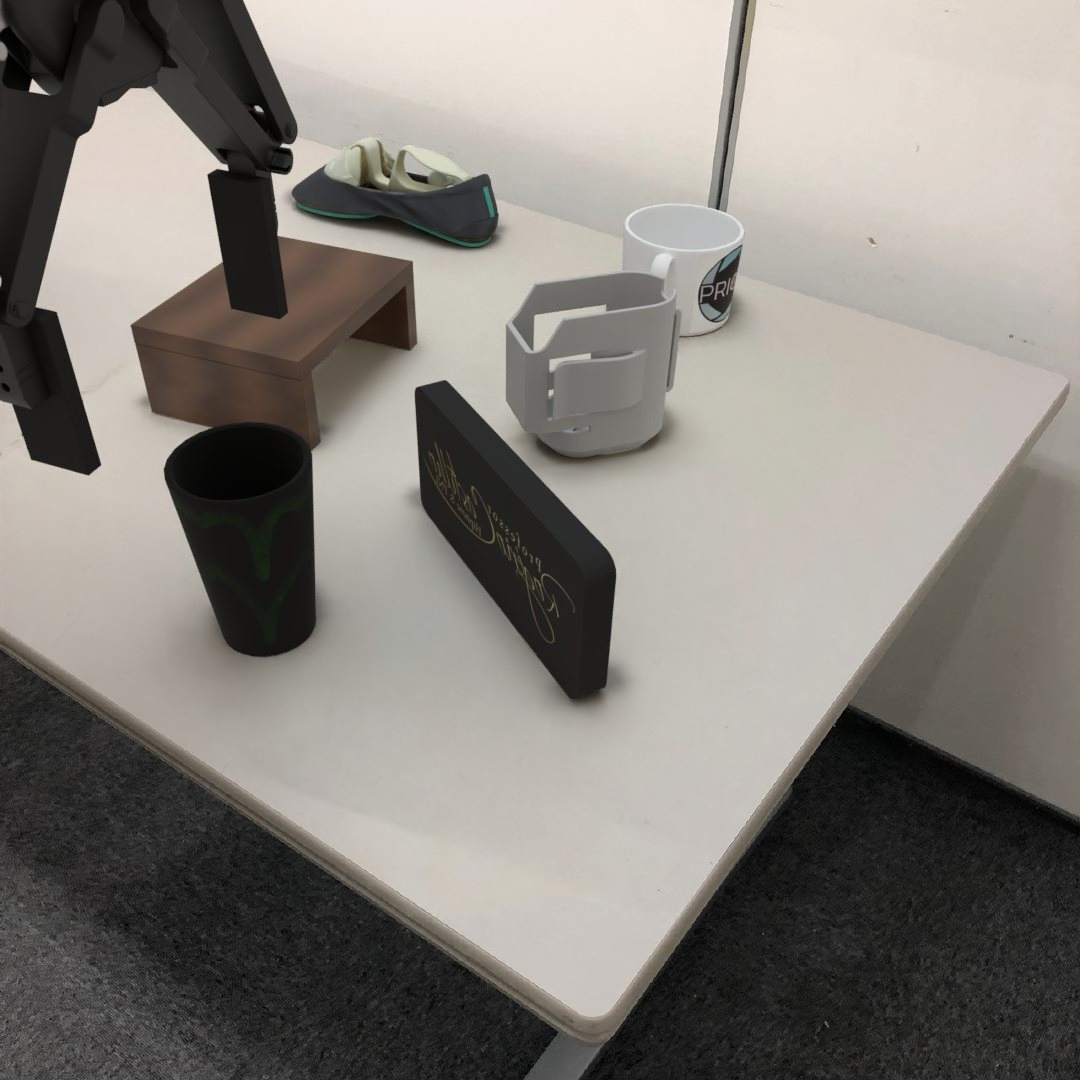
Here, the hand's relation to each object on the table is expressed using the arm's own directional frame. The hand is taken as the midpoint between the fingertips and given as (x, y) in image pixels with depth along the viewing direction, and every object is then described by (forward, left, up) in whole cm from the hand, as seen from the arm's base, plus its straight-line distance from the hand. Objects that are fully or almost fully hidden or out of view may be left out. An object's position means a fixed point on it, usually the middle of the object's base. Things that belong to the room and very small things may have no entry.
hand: (173, 379), depth 46 cm
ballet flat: (-23, +64, -21) cm, 71 cm away
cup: (-2, +6, -21) cm, 22 cm away
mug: (+10, +54, -21) cm, 59 cm away
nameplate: (+10, +14, -21) cm, 27 cm away
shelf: (-16, +32, -21) cm, 41 cm away
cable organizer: (+9, +32, -21) cm, 39 cm away
